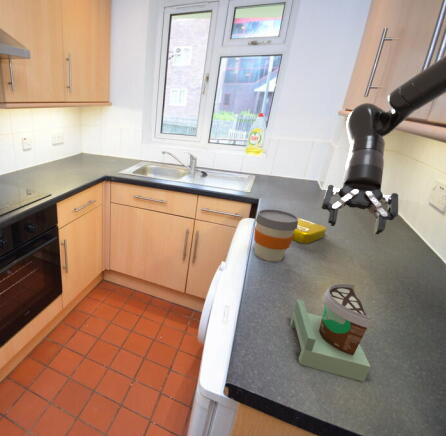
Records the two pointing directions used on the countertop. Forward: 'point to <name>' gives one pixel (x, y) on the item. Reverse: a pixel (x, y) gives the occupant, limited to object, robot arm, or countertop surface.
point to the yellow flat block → (308, 231)
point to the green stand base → (325, 348)
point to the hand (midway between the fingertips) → (354, 228)
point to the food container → (343, 318)
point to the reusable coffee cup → (274, 233)
